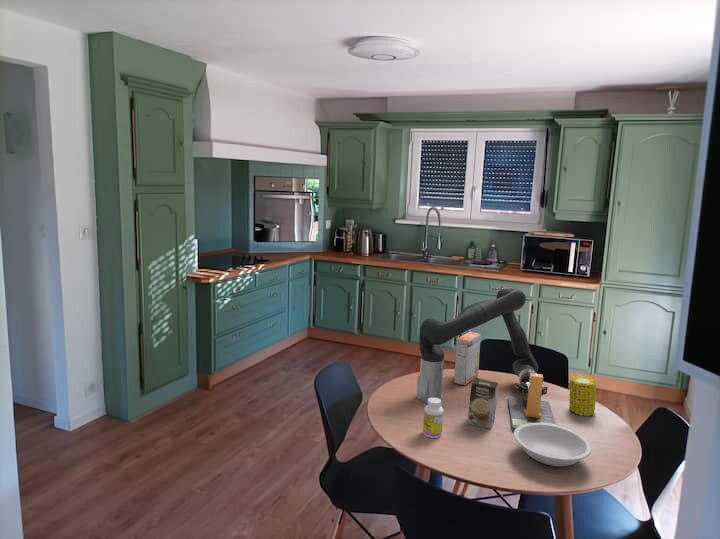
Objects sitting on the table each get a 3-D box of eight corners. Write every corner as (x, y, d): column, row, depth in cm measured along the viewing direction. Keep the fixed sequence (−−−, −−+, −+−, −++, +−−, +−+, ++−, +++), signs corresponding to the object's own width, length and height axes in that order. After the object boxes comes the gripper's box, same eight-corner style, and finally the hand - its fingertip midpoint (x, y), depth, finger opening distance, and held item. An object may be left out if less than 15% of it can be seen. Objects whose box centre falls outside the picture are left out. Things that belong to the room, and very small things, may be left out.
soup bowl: (512, 470, 162) (514, 451, 161) (511, 435, 185) (513, 418, 184) (595, 485, 156) (597, 465, 155) (583, 446, 179) (585, 429, 178)
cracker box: (466, 374, 243) (469, 330, 239) (478, 377, 239) (481, 333, 236) (452, 382, 231) (456, 337, 228) (465, 386, 228) (469, 340, 224)
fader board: (558, 437, 185) (560, 428, 184) (512, 431, 188) (513, 422, 188) (548, 405, 212) (549, 396, 211) (507, 400, 215) (508, 392, 215)
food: (598, 418, 205) (577, 422, 202) (578, 400, 215) (558, 403, 212) (608, 386, 199) (586, 390, 196) (587, 369, 209) (566, 372, 206)
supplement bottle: (419, 431, 185) (421, 397, 183) (435, 428, 188) (438, 395, 186) (428, 440, 179) (430, 405, 177) (445, 437, 182) (447, 402, 179)
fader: (540, 418, 195) (545, 377, 192) (525, 416, 196) (529, 376, 194) (539, 413, 200) (543, 373, 197) (524, 411, 201) (528, 371, 198)
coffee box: (466, 423, 193) (470, 382, 190) (470, 416, 198) (474, 377, 196) (491, 429, 189) (495, 387, 186) (495, 422, 195) (498, 381, 192)
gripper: (513, 369, 216) (516, 385, 199) (546, 373, 213) (552, 389, 196) (511, 386, 217) (514, 404, 200) (544, 390, 214) (550, 408, 198)
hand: (533, 397), depth 198 cm, fingers closed
